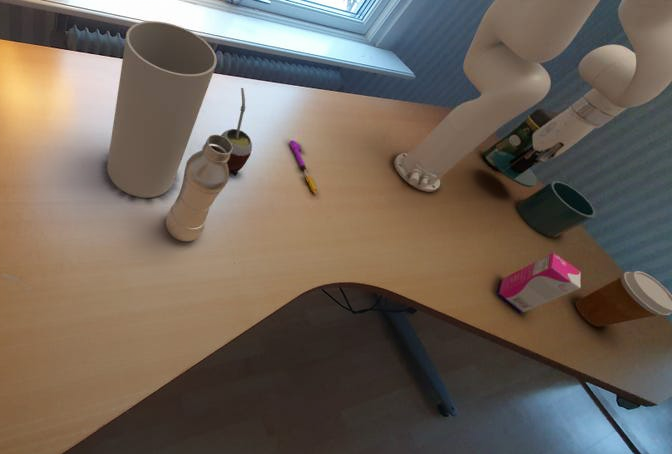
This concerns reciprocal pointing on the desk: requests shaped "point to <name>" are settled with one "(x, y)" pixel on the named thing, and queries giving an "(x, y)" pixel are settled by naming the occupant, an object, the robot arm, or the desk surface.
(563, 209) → the pot
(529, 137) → the coffee jar
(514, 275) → the supplement box
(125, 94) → the cylinder vase
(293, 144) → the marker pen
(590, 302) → the disposable coffee cup
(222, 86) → the desk surface
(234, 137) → the mate gourd
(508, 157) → the pot lid
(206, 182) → the plastic bottle
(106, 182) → the desk surface
